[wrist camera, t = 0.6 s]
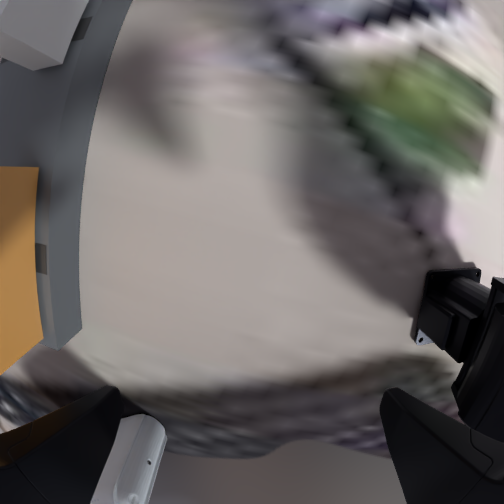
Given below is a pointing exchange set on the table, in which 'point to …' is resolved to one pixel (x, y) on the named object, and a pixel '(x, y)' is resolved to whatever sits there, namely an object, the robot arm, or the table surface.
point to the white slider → (38, 30)
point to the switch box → (58, 154)
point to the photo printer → (132, 462)
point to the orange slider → (18, 265)
